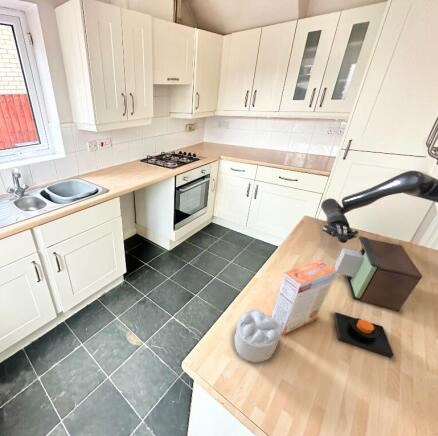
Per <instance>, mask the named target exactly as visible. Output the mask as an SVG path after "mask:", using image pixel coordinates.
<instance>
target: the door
mask: <svg viewBox="0 0 438 436" xmlns="http://www.w3.org/2000/svg"><path fill="white" fill-rule="evenodd" d="M376 269H377V267H374V266H371V264H370V262H369V260H368V258H367V255H366V253H365V254H364V256H363V255H362V253H361V252H360V250H359V251H358V250H354V249H350V248H345V247H342V249H341V252H340V254H339V256H338V258H337V259H336V262H335V264H334V270H336V271H337V272H336V274H340V275H342V276H343V275H344V276H346V275H347V276H351V277H352V279H351V284H352V287H353V290H354V293H355V297H356V298H360V297H361V295H362V294H363V292H364V290H365V288H366V287H367V285H368V283H369V281H370V279H371V278H372V276H373V274H374V272H375V271H376Z"/></svg>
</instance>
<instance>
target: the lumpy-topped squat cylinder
mask: <svg viewBox="0 0 438 436" xmlns="http://www.w3.org/2000/svg"><path fill="white" fill-rule="evenodd" d="M282 334H283V333H282V327H281V325H280V323H279V322H278V321H277V320H275V319H273V318H271V316H269V315H267V314H266V313H265V312H264V311H262V310H261V309H258V308H251V309H249V310H247V311H246V312H245V313H244V314H242V316H241V317H240V318H239V320H238V322H237V326H236V330H235V334H234V347H235V349H236V352H237V353H238V355H239V356H240V357H241V358H242V359H244V360H246V361H248V362H252V363H261V362H265V361H267V360H269V359H270V358H271V357H272V356H273V355H274V352H275V351H276V348H277V346H278V343H279V341H280V339H281V336H282Z"/></svg>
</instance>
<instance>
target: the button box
mask: <svg viewBox="0 0 438 436" xmlns="http://www.w3.org/2000/svg"><path fill="white" fill-rule="evenodd" d="M361 319H362V318H358V317H353V316H349V315H346V314H343V313H340V312H336V311H335V312H334V314H333V320H334V325H335V330H336V331H335V332H336V335H337V340H338V341H339V342H342V343H345V344H348V345H351V346H354V347H357V348H360V349H363V350H366V351H368V352H372V353H373V354H374V353H375V354H377V355H381V356H383V357H387V358H389V359H392V358H393V356H394V353H393V349H392V347H391V345H390V342H389V338H388V335H387V334H386V330H385V329H384V326H382V325H380V324H376V323H372V322H370V323H371V324H372V325H373V326H374V330H373V331H372V333H370V334H367V333H364V332H362V331H361V330H359V329H358V328H357V326H356V324H357V322H358V321H359V320H361ZM362 320H364V319H362Z"/></svg>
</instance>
